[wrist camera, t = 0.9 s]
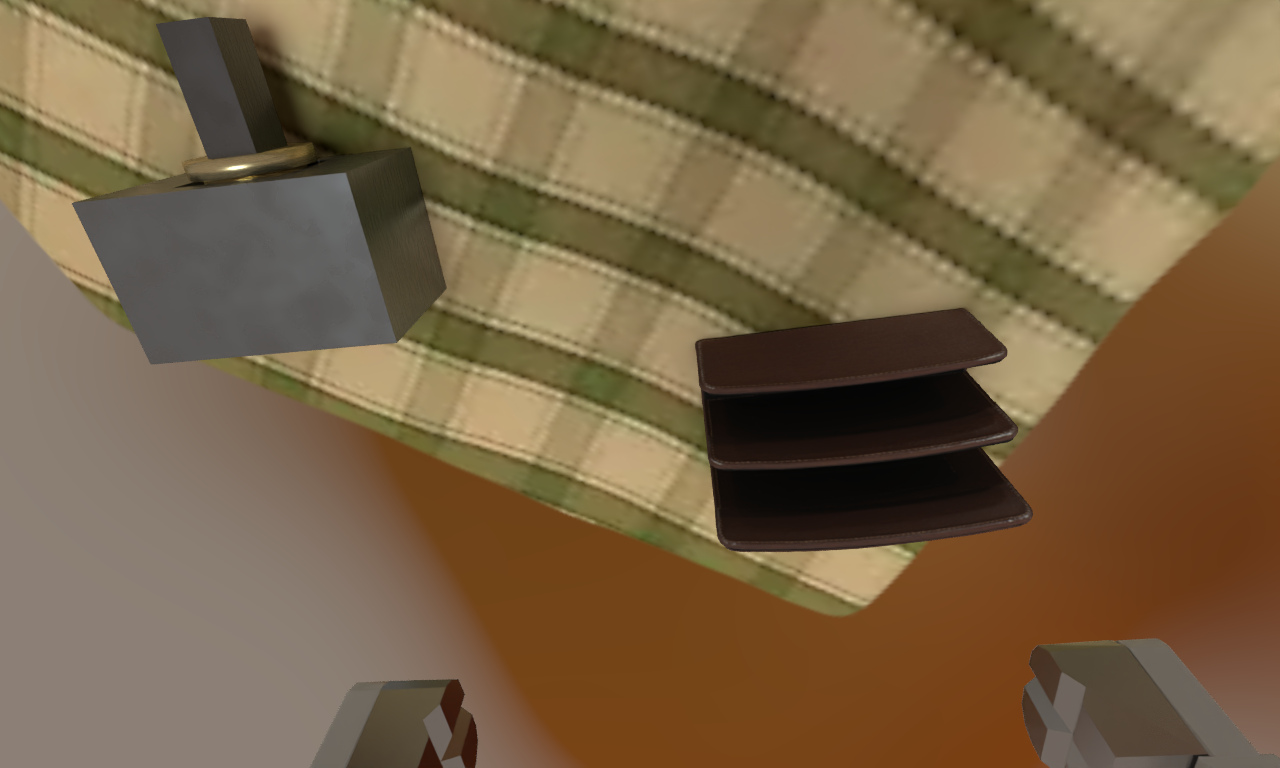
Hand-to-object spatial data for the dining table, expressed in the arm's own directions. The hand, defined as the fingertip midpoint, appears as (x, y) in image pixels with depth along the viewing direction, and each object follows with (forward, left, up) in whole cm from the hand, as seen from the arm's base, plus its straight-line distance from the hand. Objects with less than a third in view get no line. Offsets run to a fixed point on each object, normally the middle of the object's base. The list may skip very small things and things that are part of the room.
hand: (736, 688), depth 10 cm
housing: (+1, -26, -40) cm, 47 cm away
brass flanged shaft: (-5, -26, -38) cm, 46 cm away
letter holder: (+16, +10, -40) cm, 44 cm away
